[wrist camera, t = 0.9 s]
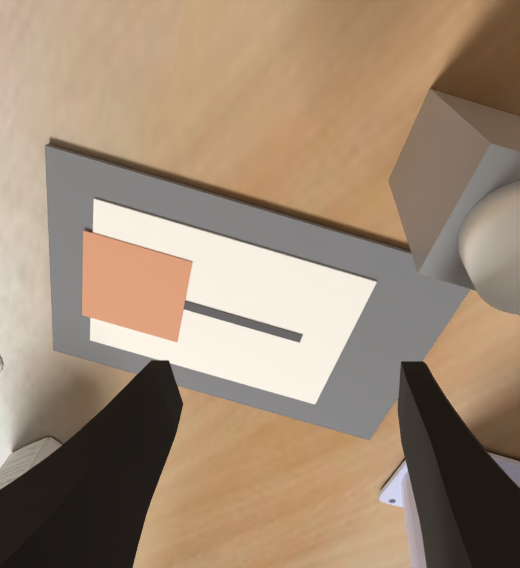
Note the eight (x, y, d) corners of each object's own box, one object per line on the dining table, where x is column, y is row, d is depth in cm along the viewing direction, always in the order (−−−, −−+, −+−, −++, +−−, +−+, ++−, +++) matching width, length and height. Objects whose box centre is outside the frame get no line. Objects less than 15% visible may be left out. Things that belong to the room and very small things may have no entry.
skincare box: (49, 433, 34) (-67, 611, 24) (90, 464, 36) (-2, 642, 26) (7, 453, 37) (-113, 622, 27) (48, 481, 39) (-51, 650, 29)
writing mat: (478, 271, 21) (481, 276, 21) (369, 436, 29) (369, 442, 29) (48, 143, 21) (43, 146, 20) (55, 347, 29) (52, 351, 28)
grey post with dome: (523, 117, 17) (684, 214, 9) (471, 205, 20) (565, 343, 12) (429, 88, 17) (512, 162, 9) (388, 180, 19) (427, 302, 12)
